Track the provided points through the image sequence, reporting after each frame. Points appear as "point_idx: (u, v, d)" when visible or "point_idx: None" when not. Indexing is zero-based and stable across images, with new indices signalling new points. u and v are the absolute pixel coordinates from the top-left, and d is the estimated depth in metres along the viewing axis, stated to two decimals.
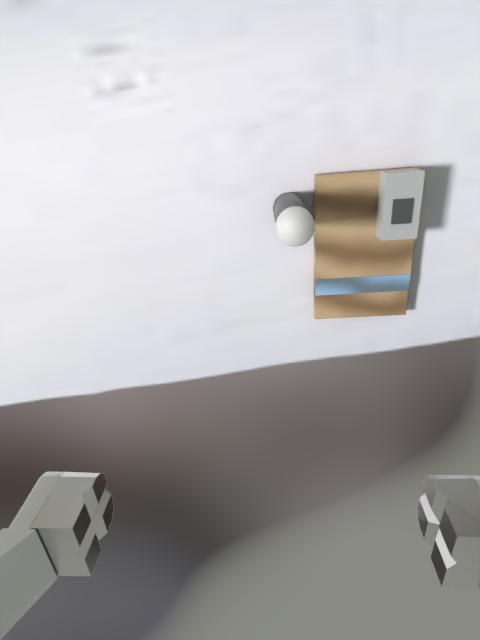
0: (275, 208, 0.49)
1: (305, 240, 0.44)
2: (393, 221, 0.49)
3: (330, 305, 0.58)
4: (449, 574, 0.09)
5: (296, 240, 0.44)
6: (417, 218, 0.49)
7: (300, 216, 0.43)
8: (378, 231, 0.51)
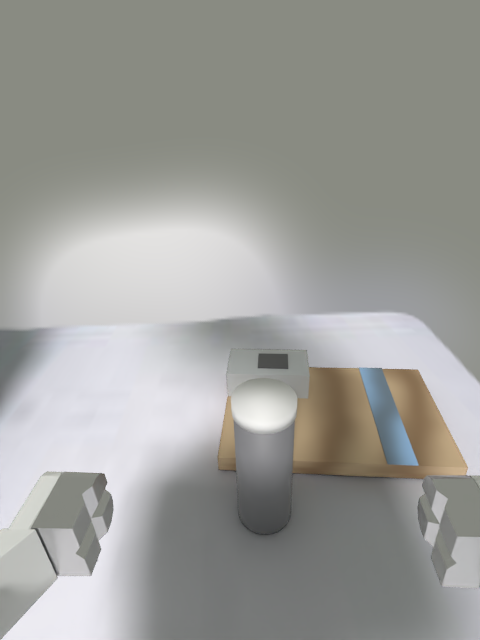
0: (251, 495, 0.27)
1: (287, 387, 0.26)
2: (283, 366, 0.39)
3: (431, 445, 0.34)
4: (449, 574, 0.09)
5: (286, 397, 0.25)
6: (282, 350, 0.42)
7: (246, 392, 0.26)
8: (300, 387, 0.39)
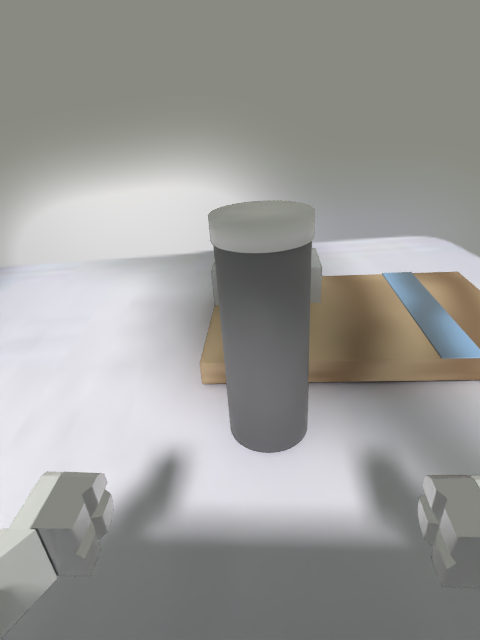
0: (247, 384, 0.18)
1: (296, 203, 0.17)
2: None
3: None
4: (449, 574, 0.09)
5: (297, 209, 0.16)
6: None
7: (232, 210, 0.16)
8: None
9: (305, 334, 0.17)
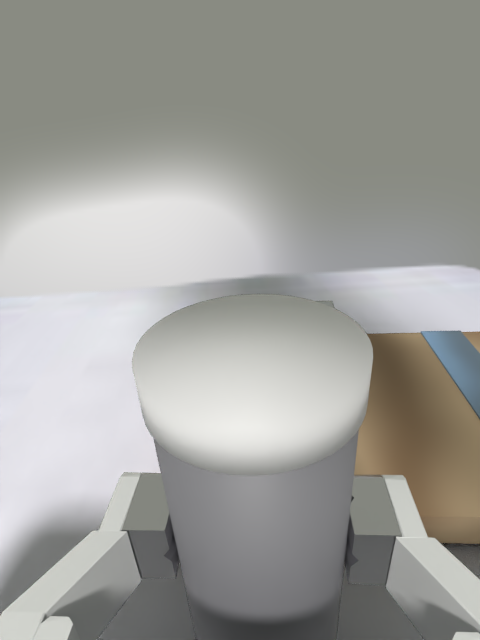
0: None
1: (325, 312, 0.08)
2: None
3: None
4: (354, 572, 0.09)
5: (330, 337, 0.07)
6: None
7: (192, 328, 0.08)
8: None
9: (340, 567, 0.09)
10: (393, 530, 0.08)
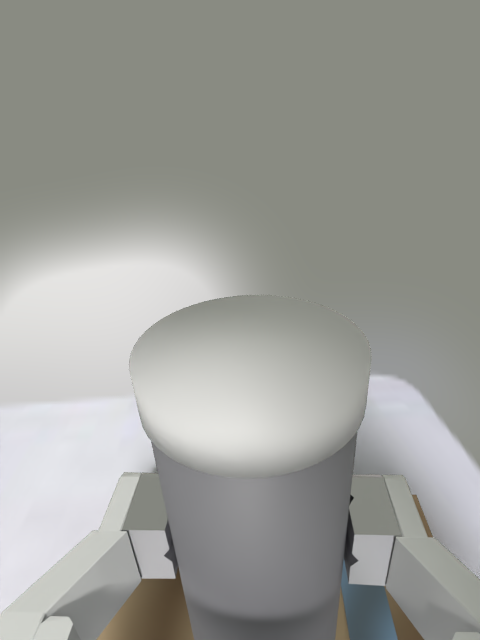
0: None
1: (324, 314, 0.08)
2: None
3: None
4: (354, 572, 0.09)
5: (328, 339, 0.07)
6: None
7: (189, 329, 0.08)
8: None
9: (339, 570, 0.09)
10: (393, 530, 0.08)
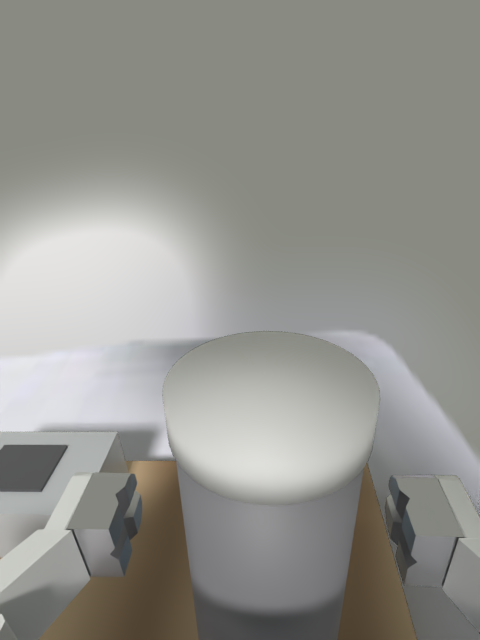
0: None
1: (336, 352, 0.09)
2: (33, 485, 0.16)
3: None
4: (411, 574, 0.09)
5: (341, 378, 0.08)
6: (64, 435, 0.19)
7: (214, 364, 0.09)
8: None
9: (343, 589, 0.09)
10: (454, 531, 0.08)
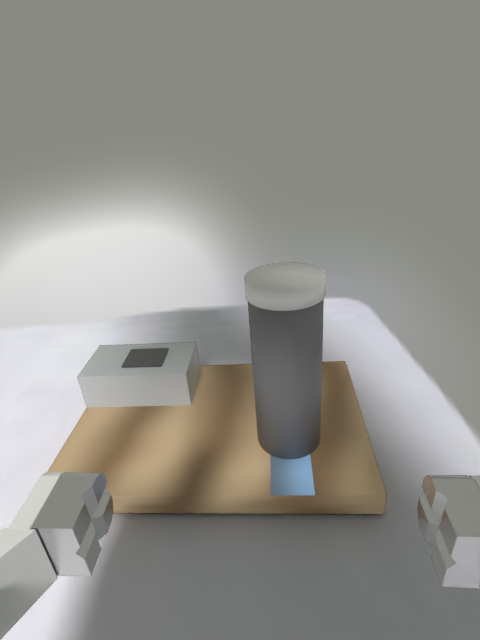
0: (273, 406, 0.22)
1: (311, 267, 0.22)
2: (156, 363, 0.29)
3: (341, 463, 0.24)
4: (450, 575, 0.09)
5: (312, 273, 0.21)
6: (164, 344, 0.32)
7: (262, 272, 0.21)
8: (177, 391, 0.29)
9: (319, 367, 0.22)
10: None
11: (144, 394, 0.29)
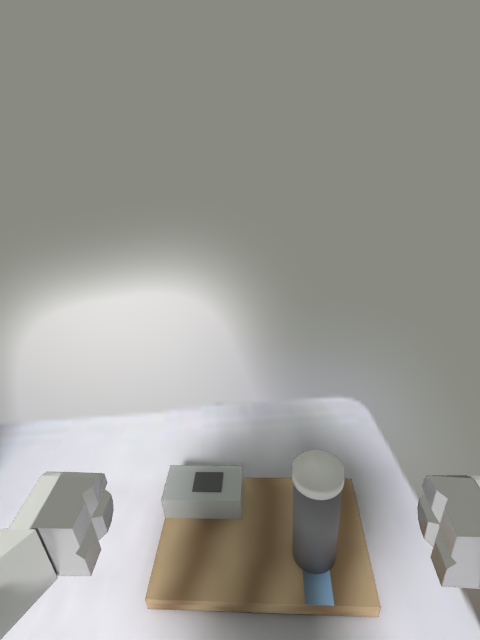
0: (307, 544, 0.34)
1: (334, 458, 0.33)
2: (217, 489, 0.41)
3: (350, 578, 0.35)
4: (450, 575, 0.09)
5: (335, 468, 0.32)
6: (219, 467, 0.43)
7: (303, 463, 0.33)
8: (233, 510, 0.40)
9: (338, 521, 0.34)
10: None
11: (208, 511, 0.41)
